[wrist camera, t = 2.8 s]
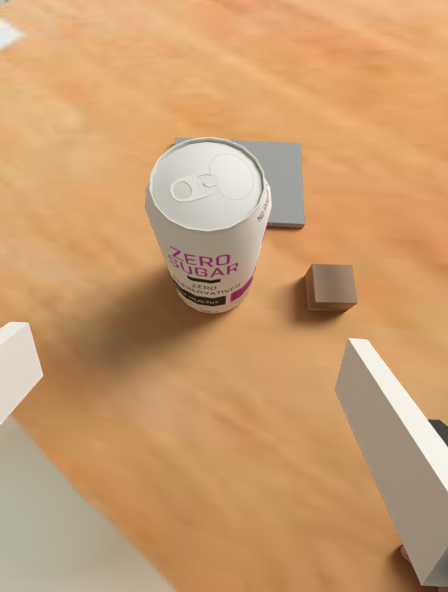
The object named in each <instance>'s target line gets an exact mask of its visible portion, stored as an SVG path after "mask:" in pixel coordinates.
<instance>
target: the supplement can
mask: <svg viewBox="0 0 448 592" xmlns="http://www.w3.org/2000/svg"><path fill="white" fill-rule="evenodd" d="M271 207H272V203H271V192H270V187H269V185H268V183H267V181H266V179H265V176H264V171H263V169H262V167H261V166H260V164H259V162H258V160H257V158H256V157H255V156H254V155H252V154H251V153H250V152H249V151H248V150H247V149H246V148H244V147H243V146H241V145H239V144H236V143H234V142H232V141H229V140H227V139H221V138H213V137H203V138H196V139H189V140H186V141H184V142H182V143H180V144H177V145H175V146H173V147H171V148H170V149H169V150H168V151H167V152H165V153H164V154H163V155H162V156H161V157H160V158H159V159H158V161H157V162H156V164H155V166H154V168H153V170H152V172H151V175H150V182H149V185H148V187H147V189H146V201H145V209H146V212H147V215H148V217H149V220H150V223H151V226H152V228H153V231H154V233H155V236H156V239H157V241H158V244H159V246H160V249H161V251H162V254H163V256H164V259H165V261H166V264H167V267H168V269H169V272H170V274H171V277H172V279H173V282H174V284H175V287H176V289H177V292H178V295H179V296H180V297H181V298H182V299H183V301H184V302H185V303H186V304H187V305H188V306H190V307H192V308H194V309H196V310H197V311H199V312H205V313H212V314H215V313H220V312H226V311H229V310H230V309H232V308H234V307H235V306H237V305H239V304H240V303H241V302H242V300H243V299H244V298H245V297H246V296H247V294H248V292H249V289H250V286H251V283H252V279H253V275H254V272H255V268H256V264H257V260H258V257H259V253H260V249H261V245H262V241H263V238H264V234H265V230H266V226H267V222H268V219H269V215H270V211H271Z"/></svg>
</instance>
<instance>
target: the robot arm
mask: <svg viewBox="0 0 448 592" xmlns="http://www.w3.org/2000/svg"><path fill="white" fill-rule="evenodd" d="M42 377H43V373H42V369H41V366H40V362H39V358H38V355H37V351H36V348H35V344H34V341H33V337H32V334H31V330H30V326H29V323H24V322H9V323H8V324H6V325H5V326H3V327H2V328H1V329H0V425H1V424H2V423H3V421H4V420H5V419H6V418H7V417H8V416H9V415H10V413H11V412H12V411H13V410H14V409H15V408H16V406H17V405H18V404H19V403H20V402H21V401H22V400H23V398H24V397H25V396H26V395H27V394H28V393H29V392H30V390H31V389H32V388H33V387H34V386H35V385H36V383H37V382H38V381H39V380H40V379H41V378H42ZM335 392H336V394H337V397H338V399H339V401H340V403H341V406H342V408H343V410H344V412H345V415H346V417H347V419H348V421H349V424H350V426H351V428H352V430H353V433H354V435H355V437H356V439H357V442H358V444H359V446H360V448H361V451H362V453H363V455H364V457H365V460H366V462H367V464H368V466H369V469H370V471H371V473H372V475H373V478H374V480H375V482H376V484H377V487H378V489H379V491H380V493H381V496H382V498H383V500H384V502H385V505H386V507H387V509H388V511H389V514H390V516H391V518H392V520H393V523H394V525H395V527H396V529H397V532H398V534H399V536H400V538H401V541H402V543H403V545H404V547H405V550H406V552H407V554H408V556H409V559H410V561H411V563H412V565H413V568H414V570H415V572H416V574H417V577H418V579H419V581H420V583H421V586H440V587H448V426H446V425H445V424H444V423H443V422H441V421H440V420H427V419H426V417H425V416H424V415H423V413H422V412H421V411H420V409H419V408H418V407H417V405H416V404H415V403H414V401H413V400H412V399H411V397H410V396H409V395H408V393H407V392H406V391H405V389H404V388H403V387H402V385H401V384H400V383H399V381H398V380H397V379H396V377H395V376H394V375H393V373H392V372H391V371H390V369H389V368H388V367H387V365H386V364H385V363H384V361H383V360H382V359H381V357H380V356H379V355H378V353H377V352H376V351H375V349H374V348H373V347H372V345H371V344H370V343H369V341H368V340H367V339H351V338H348V341H347V345H346V349H345V353H344V356H343V360H342V364H341V368H340V371H339V375H338V379H337V383H336V387H335Z"/></svg>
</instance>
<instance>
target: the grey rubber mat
mask: <svg viewBox="0 0 448 592" xmlns="http://www.w3.org/2000/svg"><path fill="white" fill-rule="evenodd" d="M189 139H196V138H175V144H174V146H175V145H177V144H180V143H182V142H184V141H186V140H189ZM229 141H232V142H234V143H236V144H239V145H241V146H243V147H244V148H246V149H247V150H248V151H249V152H250V153H251V154H252V155H254V156H255V157H256V158H257V160H258V162H259V164H260V166H261V167H262V169H263V171H264V176H265V179H266V181H267V183H268V185H269V187H270V192H271V203H272V207H271V211H270V215H269V219H268V222H267V226H275V227H295V228H303V227H304V224H305V219H304V201H303V182H302V163H301V144H300V143H281V142H260V141H239V140H229Z"/></svg>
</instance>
